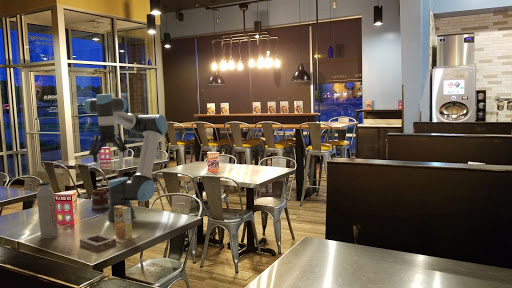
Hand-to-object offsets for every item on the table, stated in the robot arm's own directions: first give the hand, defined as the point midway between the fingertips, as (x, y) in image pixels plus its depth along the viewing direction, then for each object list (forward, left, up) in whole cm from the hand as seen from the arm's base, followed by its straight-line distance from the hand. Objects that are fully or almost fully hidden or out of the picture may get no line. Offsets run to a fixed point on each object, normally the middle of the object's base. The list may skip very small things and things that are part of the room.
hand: (110, 166), depth 215 cm
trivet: (+3, +12, -35) cm, 37 cm away
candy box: (+3, +12, -34) cm, 36 cm away
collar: (+16, +10, -35) cm, 39 cm away
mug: (-24, -53, -35) cm, 68 cm away
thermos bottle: (+22, -26, -35) cm, 49 cm away
